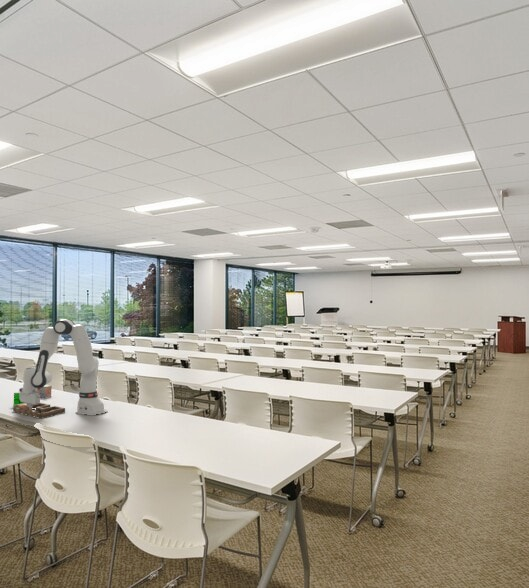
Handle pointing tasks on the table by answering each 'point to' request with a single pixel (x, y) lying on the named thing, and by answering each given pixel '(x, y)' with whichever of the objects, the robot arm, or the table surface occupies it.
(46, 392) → the stack of blocks
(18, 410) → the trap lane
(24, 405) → the terracotta block
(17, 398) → the puzzle cube
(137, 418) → the table surface
